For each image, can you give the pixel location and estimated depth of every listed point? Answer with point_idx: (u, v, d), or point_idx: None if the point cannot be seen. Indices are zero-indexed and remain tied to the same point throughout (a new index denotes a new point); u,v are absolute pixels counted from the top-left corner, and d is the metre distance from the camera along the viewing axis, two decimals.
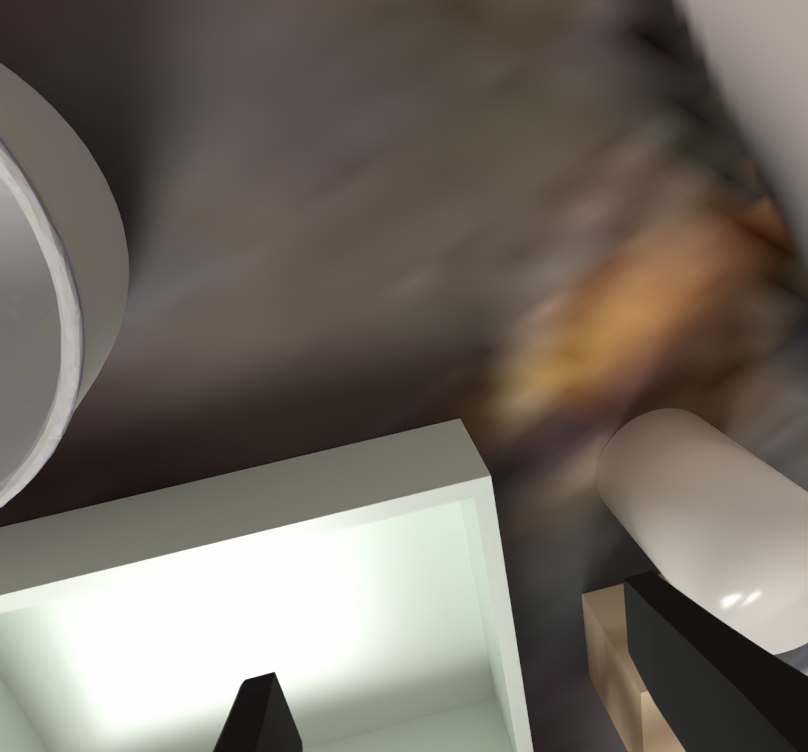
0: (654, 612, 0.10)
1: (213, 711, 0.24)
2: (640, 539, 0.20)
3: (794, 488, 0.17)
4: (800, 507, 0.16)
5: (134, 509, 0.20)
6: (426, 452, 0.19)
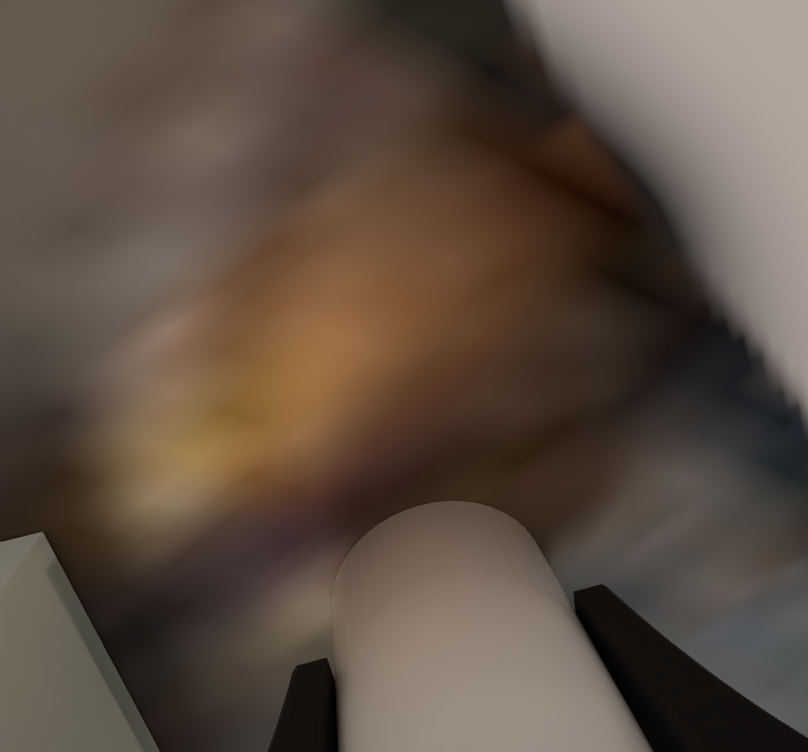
0: (599, 627, 0.10)
1: None
2: None
3: (582, 743, 0.08)
4: None
5: None
6: None
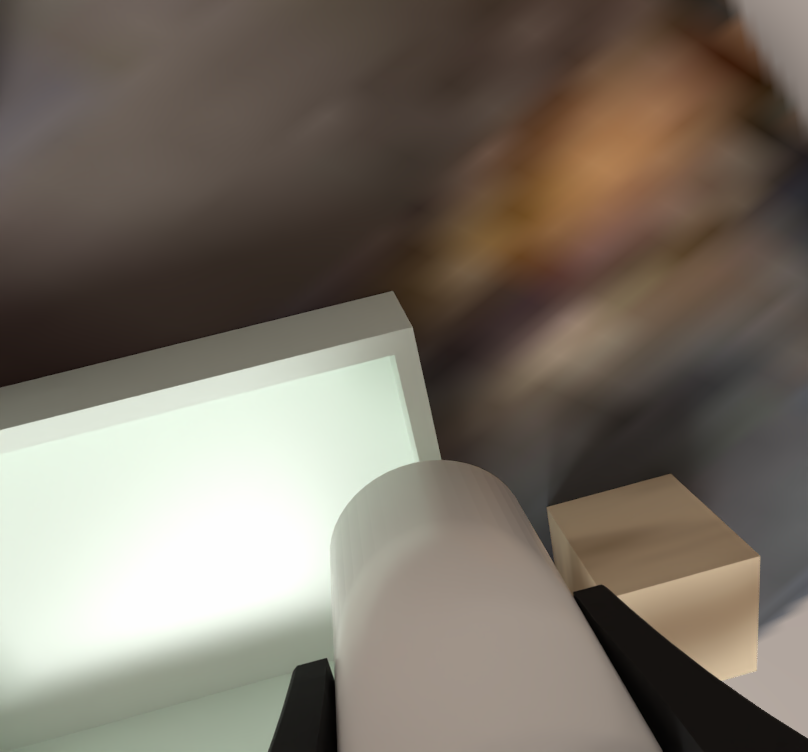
0: (599, 627, 0.10)
1: (133, 641, 0.21)
2: None
3: (550, 646, 0.09)
4: (528, 708, 0.08)
5: (12, 393, 0.17)
6: (346, 318, 0.17)
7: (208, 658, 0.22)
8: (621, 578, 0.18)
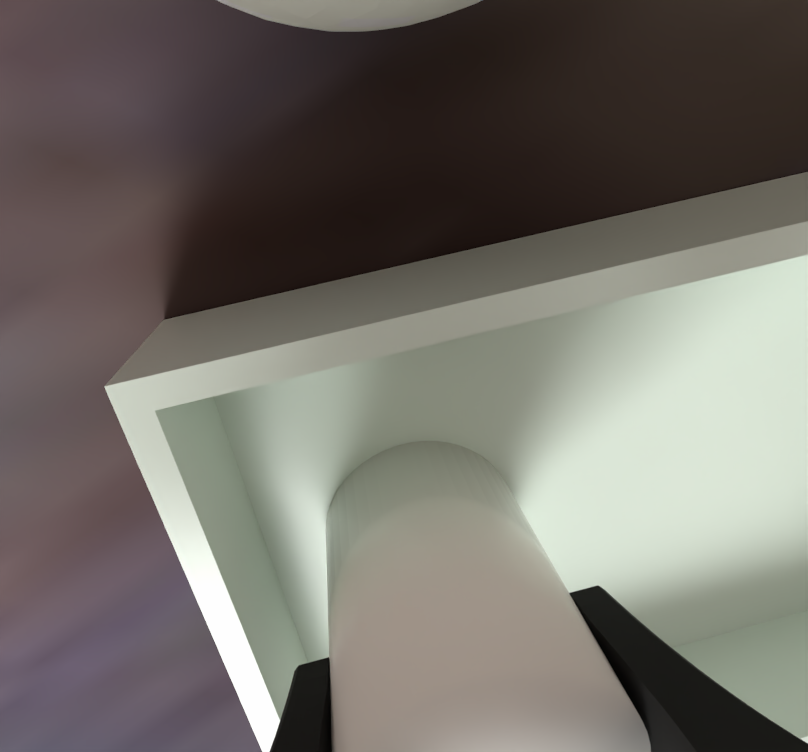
0: (594, 628, 0.10)
1: None
2: None
3: (532, 604, 0.10)
4: (509, 654, 0.08)
5: (509, 250, 0.13)
6: None
7: None
8: None
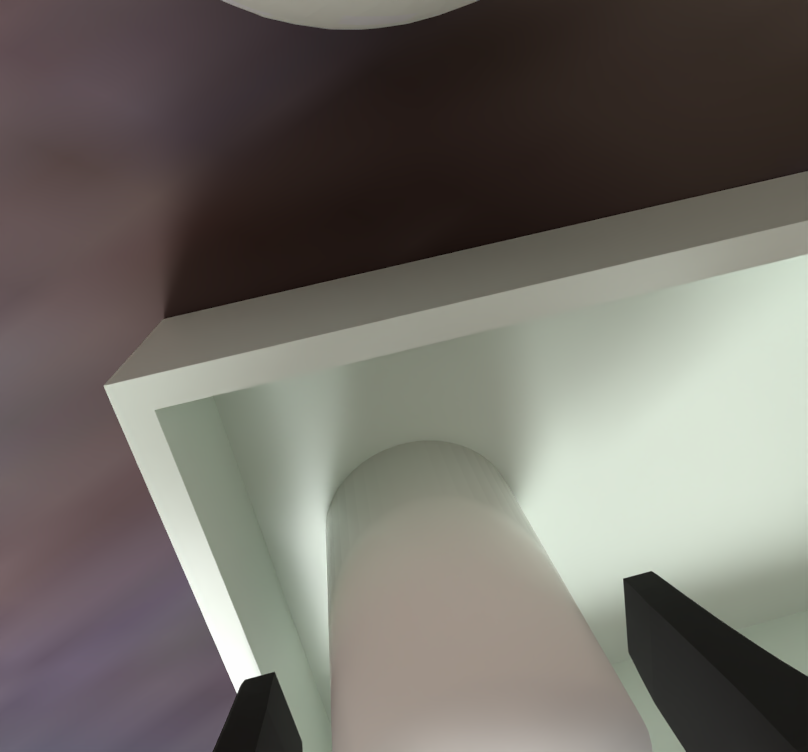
0: (654, 612, 0.10)
1: None
2: None
3: (533, 604, 0.10)
4: (510, 654, 0.08)
5: (509, 248, 0.13)
6: None
7: (607, 622, 0.18)
8: None
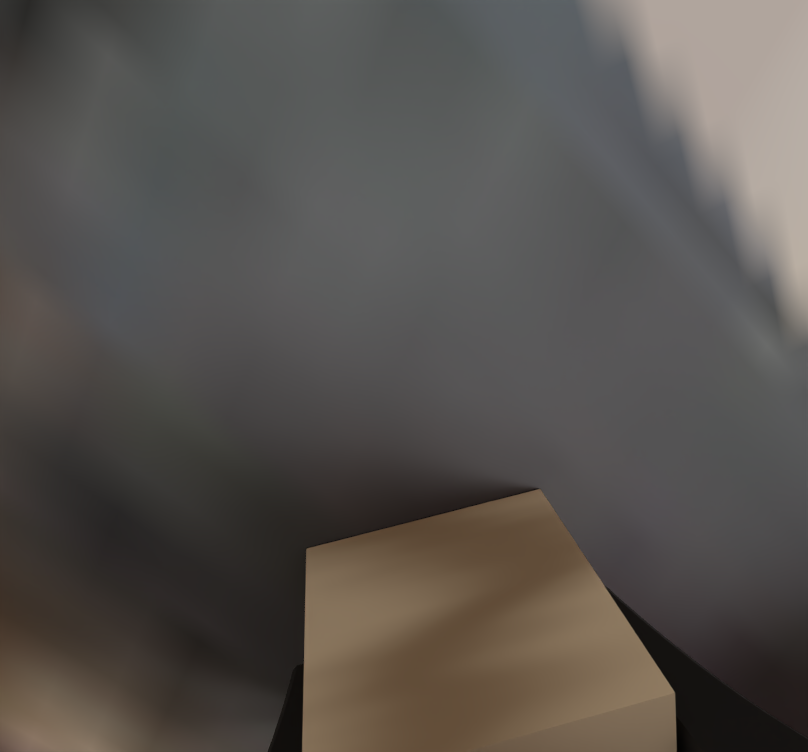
0: None
1: None
2: None
3: None
4: None
5: None
6: None
7: None
8: None
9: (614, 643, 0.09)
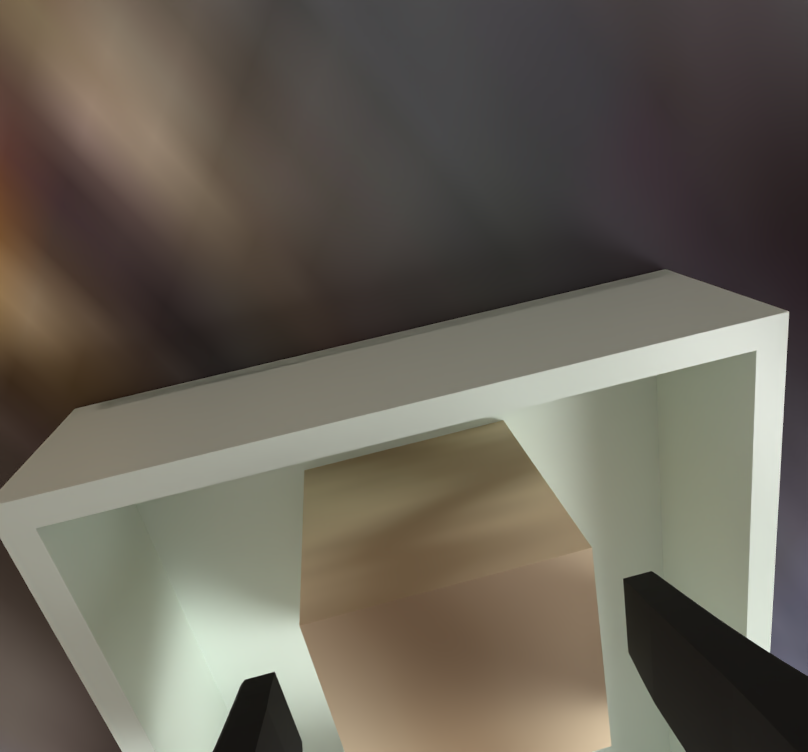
0: (654, 612, 0.10)
1: None
2: None
3: None
4: None
5: None
6: None
7: (607, 615, 0.17)
8: None
9: (550, 519, 0.11)
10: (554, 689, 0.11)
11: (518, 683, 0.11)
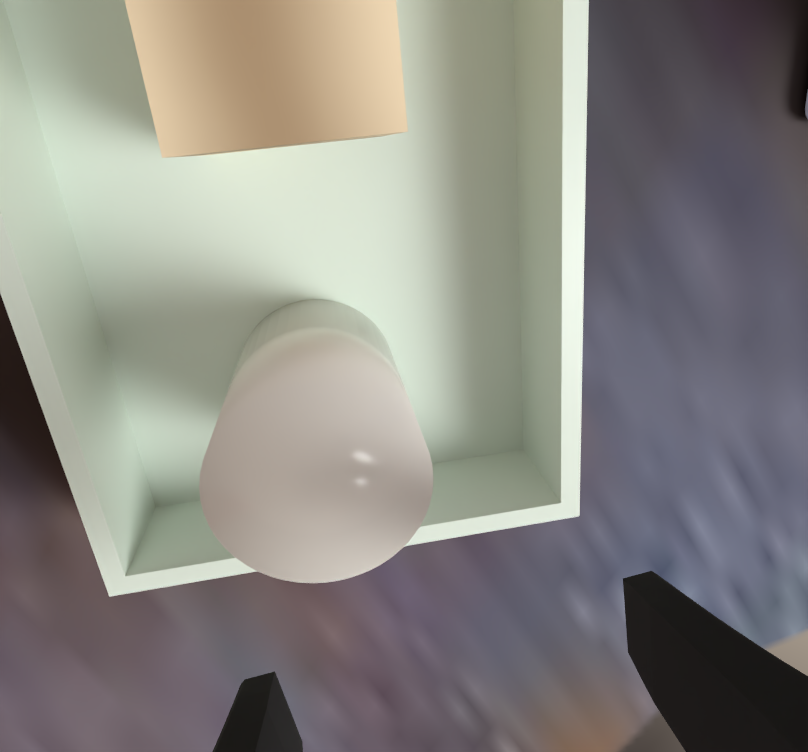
0: (654, 612, 0.10)
1: (413, 282, 0.19)
2: None
3: None
4: (201, 474, 0.13)
5: None
6: None
7: (461, 205, 0.18)
8: None
9: None
10: (348, 26, 0.11)
11: (312, 5, 0.11)
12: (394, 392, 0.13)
